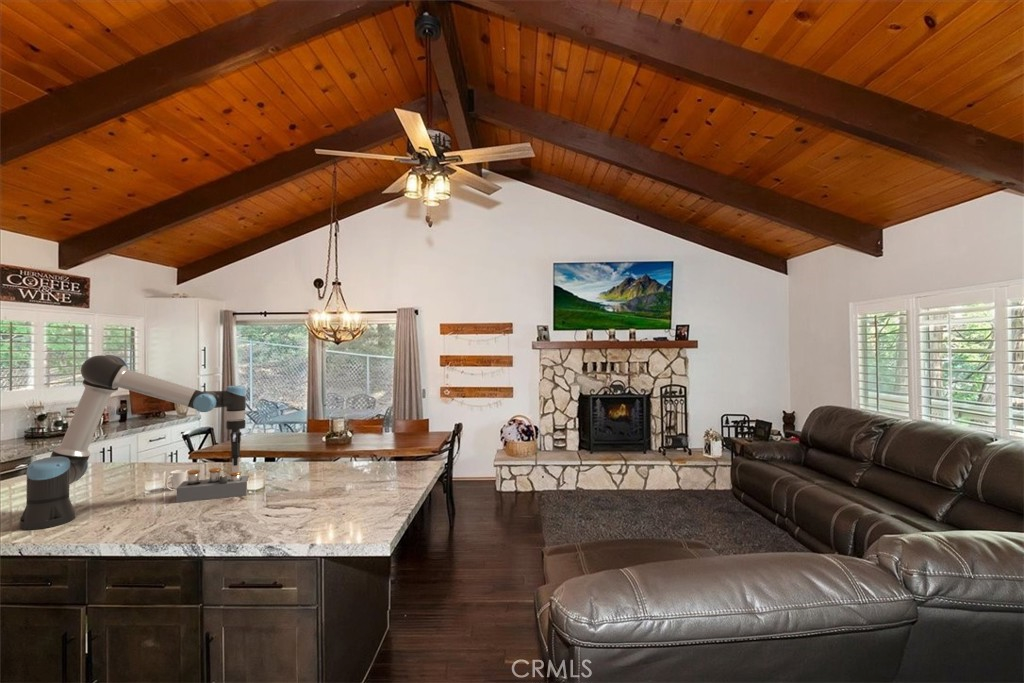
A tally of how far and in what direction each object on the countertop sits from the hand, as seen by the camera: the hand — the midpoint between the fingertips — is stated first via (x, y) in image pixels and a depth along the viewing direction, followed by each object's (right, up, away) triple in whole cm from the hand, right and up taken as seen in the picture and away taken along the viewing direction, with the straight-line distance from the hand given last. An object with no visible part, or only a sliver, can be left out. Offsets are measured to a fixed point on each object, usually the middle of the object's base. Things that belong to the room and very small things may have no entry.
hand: (235, 472), depth 218 cm
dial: (-2, -3, -6) cm, 7 cm away
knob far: (0, -7, 0) cm, 7 cm away
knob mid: (-8, -4, -3) cm, 9 cm away
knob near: (-15, -4, -6) cm, 17 cm away
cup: (-31, -10, +6) cm, 33 cm away
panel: (-8, -9, -3) cm, 12 cm away
